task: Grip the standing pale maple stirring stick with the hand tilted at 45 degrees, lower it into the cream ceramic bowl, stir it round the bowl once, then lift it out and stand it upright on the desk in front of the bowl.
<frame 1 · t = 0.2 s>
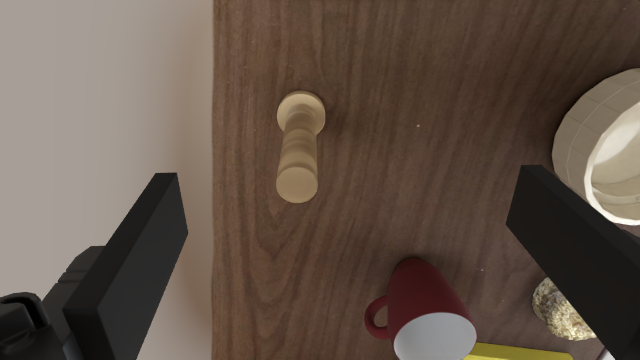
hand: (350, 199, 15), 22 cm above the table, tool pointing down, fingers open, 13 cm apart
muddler: (301, 113, 37), on the table
cake: (571, 293, 49), on the table
bowl: (617, 133, 39), on the table
mug: (401, 274, 47), on the table
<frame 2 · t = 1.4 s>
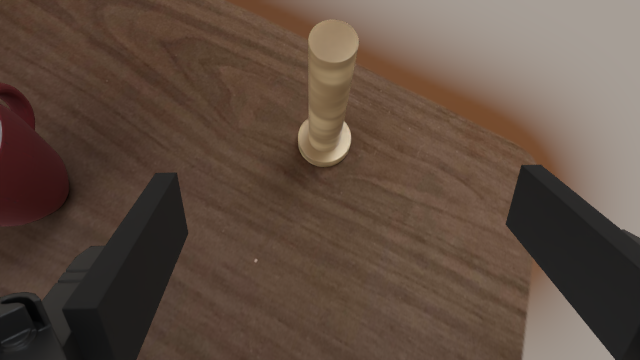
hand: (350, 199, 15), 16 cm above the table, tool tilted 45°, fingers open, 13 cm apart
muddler: (324, 142, 34), on the table
mug: (45, 178, 32), on the table
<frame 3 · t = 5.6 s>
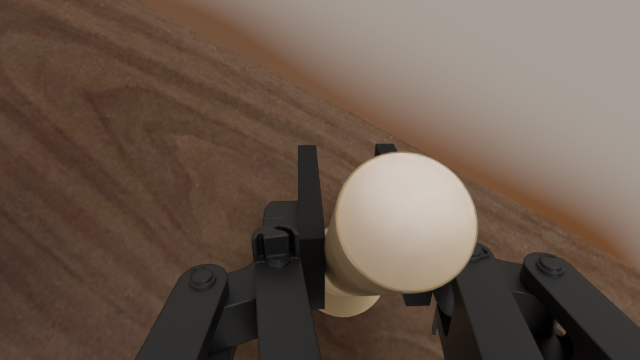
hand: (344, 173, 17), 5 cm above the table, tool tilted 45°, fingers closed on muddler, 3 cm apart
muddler: (340, 271, 20), on the table, touching gripper
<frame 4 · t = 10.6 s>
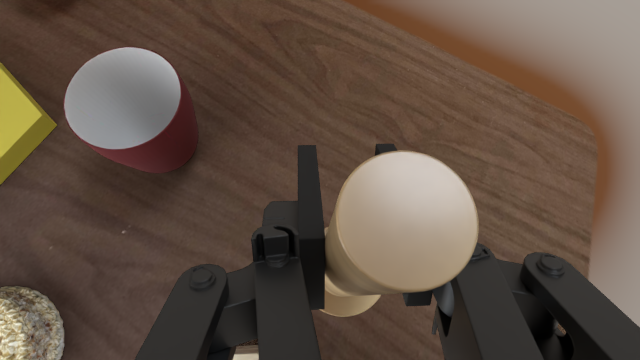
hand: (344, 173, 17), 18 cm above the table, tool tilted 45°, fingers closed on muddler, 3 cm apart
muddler: (340, 270, 20), point 14 cm above the table, touching gripper
cake: (2, 349, 32), on the table
mug: (170, 137, 37), on the table
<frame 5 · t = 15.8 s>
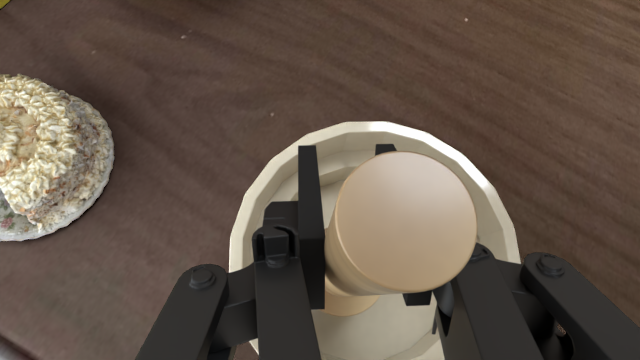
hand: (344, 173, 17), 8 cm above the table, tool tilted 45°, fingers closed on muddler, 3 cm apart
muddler: (340, 271, 20), point 3 cm above the table, touching gripper
cake: (35, 163, 25), on the table
bowl: (359, 265, 24), on the table
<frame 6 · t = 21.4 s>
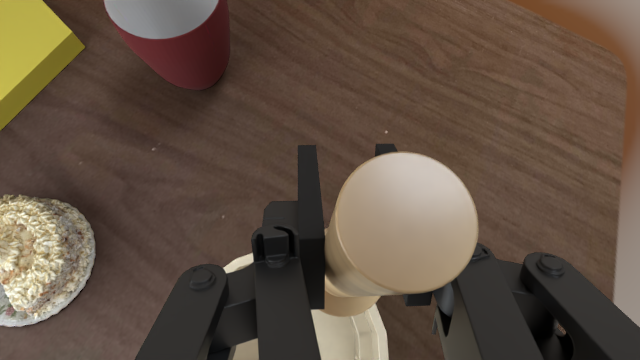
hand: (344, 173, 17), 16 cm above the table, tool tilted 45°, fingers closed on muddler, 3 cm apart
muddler: (340, 271, 20), point 12 cm above the table, touching gripper
cake: (33, 259, 31), on the table
bowl: (286, 344, 30), on the table
mug: (198, 61, 37), on the table
when the fingers open (4 cm above the table, at t = 25.9 s): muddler stays where it is, on the table.
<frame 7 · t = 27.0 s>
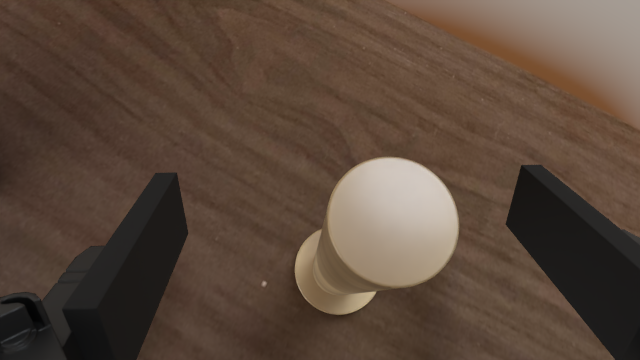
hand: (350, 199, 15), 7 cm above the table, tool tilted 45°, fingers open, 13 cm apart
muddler: (336, 270, 21), on the table
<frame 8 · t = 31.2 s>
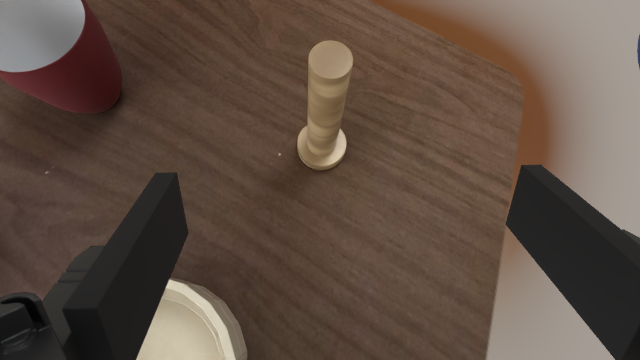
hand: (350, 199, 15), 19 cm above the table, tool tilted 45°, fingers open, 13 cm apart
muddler: (321, 147, 36), on the table
mug: (99, 83, 38), on the table
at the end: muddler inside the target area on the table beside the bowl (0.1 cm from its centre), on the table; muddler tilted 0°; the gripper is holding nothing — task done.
